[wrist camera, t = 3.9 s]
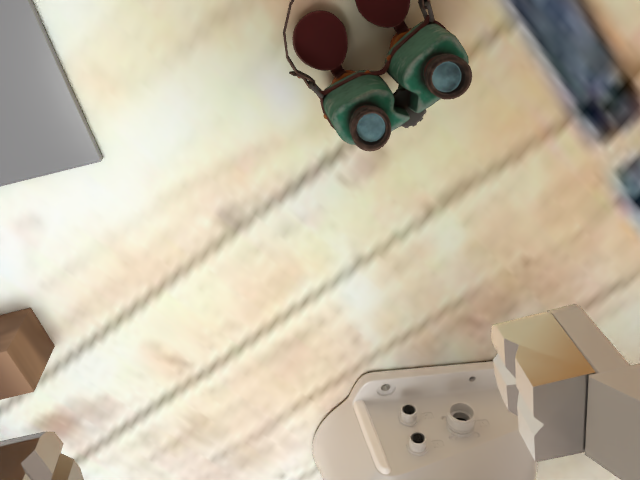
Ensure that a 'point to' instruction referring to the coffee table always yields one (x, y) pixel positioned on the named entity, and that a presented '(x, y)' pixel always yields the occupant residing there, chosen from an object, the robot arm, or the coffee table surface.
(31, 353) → the walnut block
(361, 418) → the robot arm
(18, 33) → the slate tile
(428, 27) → the binoculars
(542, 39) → the coffee table surface
